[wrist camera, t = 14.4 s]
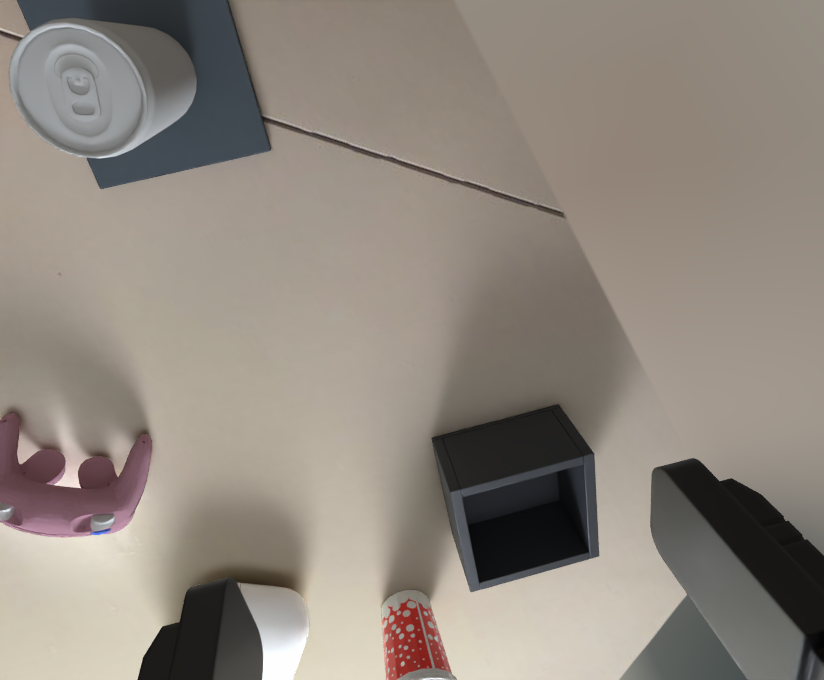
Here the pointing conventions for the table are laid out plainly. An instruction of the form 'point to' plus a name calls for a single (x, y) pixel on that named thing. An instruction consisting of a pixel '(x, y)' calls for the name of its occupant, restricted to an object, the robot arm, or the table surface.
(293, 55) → the table surface
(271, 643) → the earbud case
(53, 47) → the beverage can
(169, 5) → the mat
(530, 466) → the bin
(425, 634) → the beverage cup
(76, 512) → the video game controller
